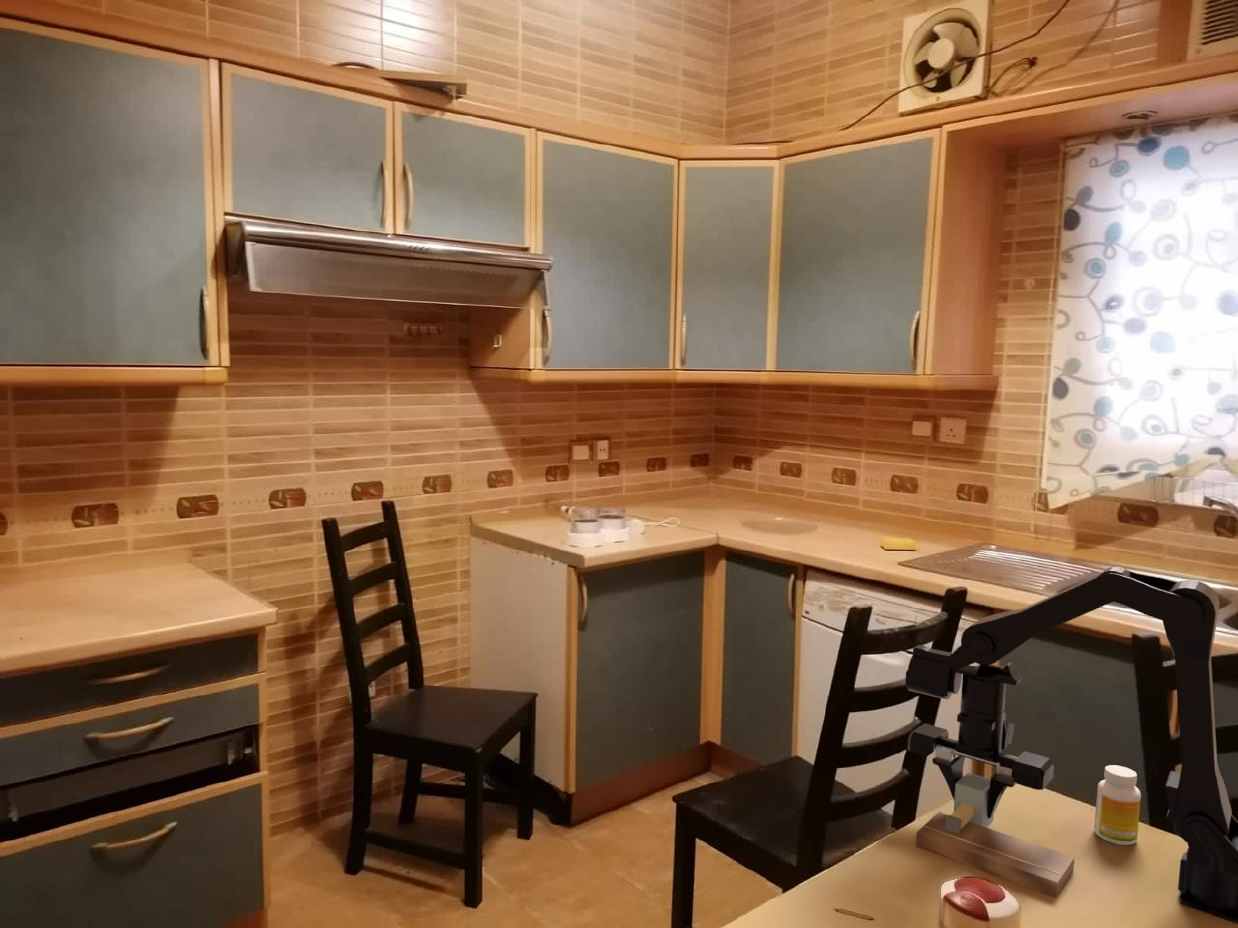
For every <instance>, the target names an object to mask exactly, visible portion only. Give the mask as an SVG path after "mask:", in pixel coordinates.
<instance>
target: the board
mask: <svg viewBox="0 0 1238 928" xmlns="http://www.w3.org/2000/svg"><path fill="white" fill-rule="evenodd" d="M947 815H948V814H946V813H944V812H941V811H938V812H937V813H935V814H934V815H933V816H932V817H931V818H930V819H929V820H928V821H927V822H926V823H925V824H924V825H922V827H921V828H920V829H918V830H917V831H916V836H915V837H916V838H915V847H917V848H920V849H923V850H926V851H928V852H930V853H934V854H936V855H939V856H942V857H945V858H948V859H949V860H953V861H955V862H958V863H961V864H962V865H963V864H964V865H966V866H969V867H972V868H975V869H977V870H979V871H982V872H985V873H988V874H991V875H993V876H996V877H998V878H1000V879H1004V880H1006V881H1010V882H1013V883H1015V884H1018V885H1020V886H1024V887H1026V888H1029V889H1031V890H1034V891H1037V892H1039V893H1042V894H1045V895H1048V896H1050V897H1052V898H1057V897H1058V896H1059V895H1060V893H1061V891H1062V890H1063V888H1064V887H1065V885H1066V884H1067V882H1068V881H1069V879H1070V878H1071V876H1072V875H1073V873H1074V867H1075V857H1074V856H1071V855H1068V854H1065V853H1062V852H1059V851H1056V850H1053V849H1051V848H1048V847H1044V846H1041V845H1038V844H1035V843H1032V842H1029V841H1026V840H1023V839H1020V838H1018V837H1014V836H1012V835H1009V834H1005V833H1002V832H999V831H996V830H994V829H991V828H988V827H987V828H985V827H982V826H979V825H976V824H973V823H971V822H968V823H967V824H966V825H965V826H964V827H963V828H962V829H961V832H960V833H959V834H957V833H954V832H951V831H949V830H946V829H945V826H946V816H947Z"/></svg>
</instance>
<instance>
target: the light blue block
mask: <svg viewBox="0 0 1238 928" xmlns="http://www.w3.org/2000/svg"><path fill="white" fill-rule="evenodd" d="M989 787H990V778H987V777H984V776H981V775H977V774H974V773H972V772H971V773H970V772H967V773H966V774H965V775H963V777H962V778H961V779H960V780H959V781H958V782H957V783H956V786H955V800H953V803H954V805H953V811H952V813H951V814H947V816H946V826H945V829H946V830H949V831H951V832H954V833H957V834H959V833H960V832H961V829H962V828H963V827H964V826H965V825H966V824H967V823H968V822H971V823H973V824H976V825H979V826H982V827H985V828H988V827H990V825H992V823H993V822H994V816H995V815H994V814H993V816H992V817H991V818H988V817H987V804H988V796H989Z"/></svg>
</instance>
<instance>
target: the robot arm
mask: <svg viewBox="0 0 1238 928" xmlns="http://www.w3.org/2000/svg"><path fill="white" fill-rule="evenodd" d="M1216 592H1217V591H1215V590H1214V589H1213V588H1212V587H1210V586H1209V584H1207V583H1205V582H1202V581H1199V580H1196V579H1195V580H1194V579H1186V580H1181V581H1176V580H1173V579H1168V578H1165V577H1162V576H1158V575H1157V576H1156V575H1150V574H1145V573H1140V572H1136V571H1132V570H1128V569H1126V568H1124V567H1122V566H1111V567H1108V568H1106V569H1105V570H1103V571H1102V572H1101V573H1098V574H1096V575H1095V576H1093V577H1091V578H1088V579H1086V580H1083V581H1081V582H1079V583H1077V584H1076V585H1073V586H1071V587H1068V588H1066V589H1064V590H1061V591H1059V592H1057V593H1055V594H1053V595H1051V596H1048V597H1047V598H1044V599H1041V600H1040V601H1037V602H1035V603H1033V604H1030V605H1029V606H1026V607H1023V608H1019V609H1013V610H1009V611H1004V612H999V613H995V614H991V615H987V616H984V617H981V618H979V619H978V620H977V621H976V622H974V623H973V624H971V625H970V626H968V627H966V628H965V629H964V631H963V632H962V635H961V638H960V645H959V646H957V647H956V648H955V649H953V650H952V651H951V652H950V651H949V652H948V651H944V650H940V649H933V648H930V647H929V646H927V645H921V644H917V645H916V646H915V647H913V648H912V656H911V658H910V660H909V664H908V666H907V670H906V671H905V686H906V689H907V691H910V692H914V693H918V694H923V695H927V696H930V697H935V698H939V699H944V700H949V699H951V697H952V694H953V695H958V693H959V692H960V689H961V695H960V708H959V713H958V714H957V715H956V717H957V718H956V722H957V723H958V735H957V740H956V739H953V738H949V737H950V736H949V731H948V729H946V728H943V727H940V726H935V725H933V724H929V723H923V724H921V725H920V726H919V727H917V728H916V729H914V730H913V731H912V732H910V733H909V735H908V739H907V750H908V751H909V752H911V753H914V754H917V755H920V756H923V757H928V756H930V755H931V754H933V753H934V757H933V758H932V759H931V761H932V764H933V765H936V766H937V767H938V769H939V770H940V772H941V774H942V776H943V778H944V779H945V782H946V784H947V787H948V789H949V791H950V794H951V796H952V799H953V801H954V800H955V786H956V783H957V782H958V781H959V780H960V779H961V778H962V777H964V763H965V759H971V760H973V761H977V762H980V763H984V764H987V765H990V766H993V767H996V773H995V774H993V775H992V776H991V777H990V778H989V779H990V787H989V796H988V804H987V817H988V818H991V817H992V816H993V814H994V813H995V811H996V810H997V807H998V805H999V804H1000V801H1001V799H1002V797H1003V795H1004V794H1005V791H1006V790H1007V788H1014V787H1015V785H1019V786H1023V787H1026V788H1030V789H1032V790H1037V791H1043V790H1044V789H1045V788H1046V787H1047V785H1048V784H1049V783H1050V782H1051V781H1052V780H1053V778H1054V770H1055V765H1054V763H1053V762H1052V760H1051V758H1050V757H1046V756H1044V755H1039V754H1036V753H1032V752H1029V751H1025V750H1023V752H1022V753H1021V754H1020V755H1019V756H1014V755H1010V754H1005V753H1003V752H1001V751H1002V750H1003V751H1005V750H1007V749H1008V746H1009V747H1011V746H1012V741H1013V736H1014V731H1015V724H1014V723H1011V722H1006V721H1007V720H1006V719H1007V716H1006V715H1007V712H1005V704H1006V703H1005V702H1006V691H1007V690H1006V689H1007V687H1006V686H1007V685H1011V686H1016V685H1018V684H1019V683H1020V682H1021V681H1022V679H1023V678H1024V677H1023V675H1022V674H1021V673H1020V671H1018V670H1017V669H1016V668H1015V666H1014V665H1013V663H1012V662H1008V663H1007V664H1005V665H1004V666H1000V665H994V664H995V663H997V662H998V661H1000V660H1002V659H1003V658H1004V657H1006V656H1007V655H1008V654H1010V653H1012V652H1013V651H1014V650H1016V649H1017V648H1019V647H1021V646H1022V645H1023V644H1025V642H1027V641H1029V640H1030V639H1031V638H1032V639H1033V637H1035V636H1037V635H1039V634H1042V633H1044V632H1046V631H1049V630H1051V629H1054V628H1056V627H1057V626H1061V625H1063V624H1065V623H1067V622H1070V621H1072V620H1074V619H1077V618H1079V617H1082V616H1083V615H1085V614H1088V613H1091V612H1093V611H1095V610H1097V609H1100V608H1102V607H1105V606H1106V605H1109V604H1111V603H1117V604H1119V605H1123V606H1125V607H1128V608H1129V609H1132V610H1134V611H1137V612H1139V613H1140V614H1144V615H1146V616H1148V617H1150V618H1154V619H1158V620H1161V621H1162V623H1163V627H1164V628H1163V629H1164V631H1165V635H1166V639H1167V642H1168V644H1169V646H1170V649H1171V652H1172V655H1173V659H1174V664H1175V665H1174V666H1175V679H1176V680H1175V682H1176V683H1175V684H1176V697H1177V714H1178V730H1179V749H1180V762H1181V763H1180V764H1181V766H1180V767H1181V769H1180V772H1176V771H1173V770H1170V771H1169V775H1168V777H1167V780H1166V783H1165V793H1166V798H1167V801H1168V810H1167V811H1168V812H1167V814H1166V817H1165V818H1166V820H1172V825H1173V829H1174V831H1175V833H1176V835H1177V836H1179V837H1180V838H1181V839H1182V840H1183V841H1184V842H1185V843H1187V846H1188V847H1187V850H1186V851H1185V852H1184V853H1183V854H1182V856H1181V857H1180V858H1181V859H1180V862H1179V863H1180V864H1179V874H1178V882H1177V884H1178V885H1177V890H1178V891H1179V892H1180V893H1181V894H1180V896H1179V902H1180V903H1181V904H1183V905H1186V906H1189V907H1192V908H1193V909H1194V908H1195V909H1198V910H1200V911H1203V912H1207V913H1210V914H1211V915H1212V914H1213V915H1215V916H1218V917H1221V918H1224V919H1227V920H1230V921H1233V922H1234V923H1235V922H1236V923H1238V820H1237V819H1236V817H1234V815H1233V814H1232V813H1233V812H1232V807H1231V803H1230V799H1229V796H1228V791H1227V788H1226V784H1225V781H1224V778H1223V776H1222V774H1221V771H1220V768H1219V765H1218V756H1217V753H1218V752H1217V738H1216V719H1215V718H1216V717H1215V703H1214V701H1215V700H1214V684H1213V669H1212V667H1213V666H1212V652H1213V645H1214V641H1215V634H1216V628H1217V622H1218V616H1219V610H1220V599H1219V596H1218V594H1217V593H1216ZM975 663H976V664H978V665H979V666H974V665H973V664H975Z"/></svg>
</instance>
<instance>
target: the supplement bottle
mask: <svg viewBox="0 0 1238 928" xmlns="http://www.w3.org/2000/svg"><path fill="white" fill-rule="evenodd" d="M1103 773H1104V774H1103V776H1104V779H1103V780H1100V781H1099V782H1098V784H1097V793H1096V804H1095V814H1094V815H1095V816H1094V825H1093V827H1094V833H1095V835H1097V836H1098V837H1099V838H1101V839H1102V840H1104V841H1106V842H1108V843H1112V844H1114V845H1118V846H1119V845H1121V846H1130V845H1134V844H1135V843H1137V841H1138V834H1139V823H1140V822H1139V821H1140V811H1141V801H1142V800H1141V799H1142V794H1141V791H1140V789H1139V788H1138V787H1137V786H1136V785H1137V781H1138V774H1137V772H1136V771H1134V770H1132V769H1131V768H1128V767H1125V766H1122V765H1115V764H1113V765H1112V764H1111V765H1109V764H1108V765H1106V766H1105V767H1104V772H1103Z"/></svg>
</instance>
